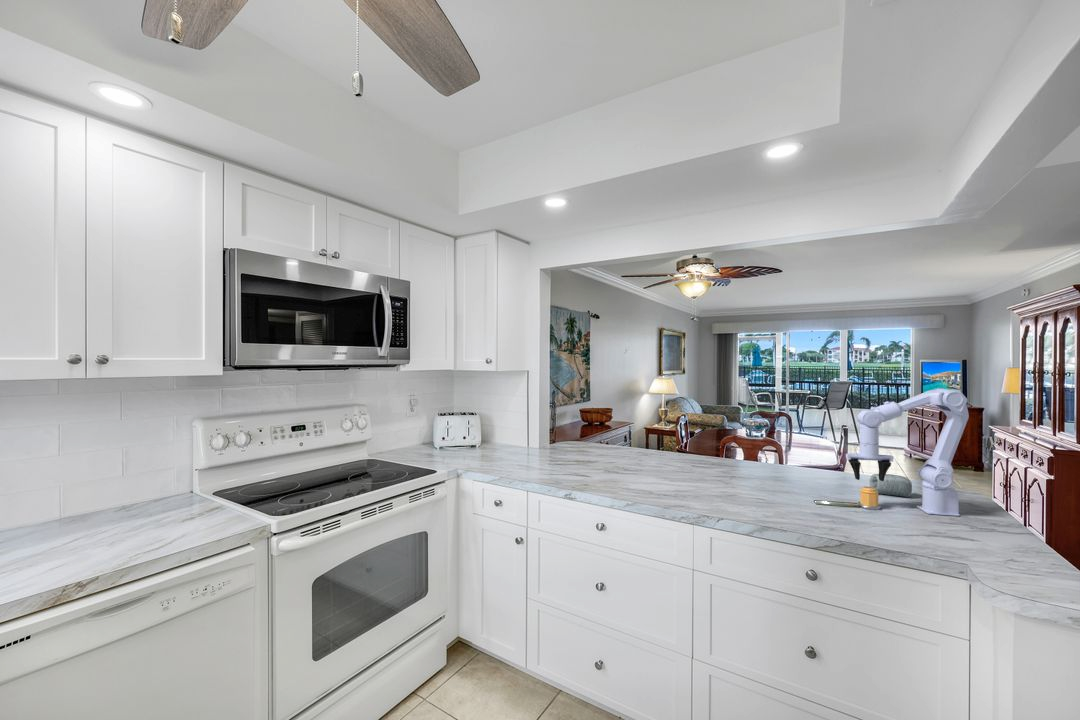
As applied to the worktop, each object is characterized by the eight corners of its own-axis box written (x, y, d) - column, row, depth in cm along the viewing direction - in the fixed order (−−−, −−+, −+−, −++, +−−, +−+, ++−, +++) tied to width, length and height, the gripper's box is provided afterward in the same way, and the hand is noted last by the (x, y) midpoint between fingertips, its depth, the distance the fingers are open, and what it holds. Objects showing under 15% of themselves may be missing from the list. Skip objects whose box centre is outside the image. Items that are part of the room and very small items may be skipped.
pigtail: (875, 504, 172) (875, 492, 172) (884, 510, 165) (884, 498, 165) (811, 500, 178) (811, 488, 178) (817, 506, 171) (817, 494, 171)
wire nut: (874, 502, 172) (874, 486, 171) (880, 507, 167) (880, 490, 167) (858, 501, 173) (858, 485, 173) (864, 505, 168) (864, 489, 168)
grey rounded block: (867, 487, 183) (874, 464, 186) (865, 492, 191) (872, 470, 193) (909, 501, 175) (917, 477, 177) (906, 506, 183) (913, 483, 185)
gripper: (886, 441, 171) (887, 478, 172) (842, 440, 175) (842, 475, 175) (896, 445, 165) (896, 483, 165) (849, 443, 168) (850, 480, 169)
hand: (869, 479), depth 170 cm, fingers open, 7 cm apart
